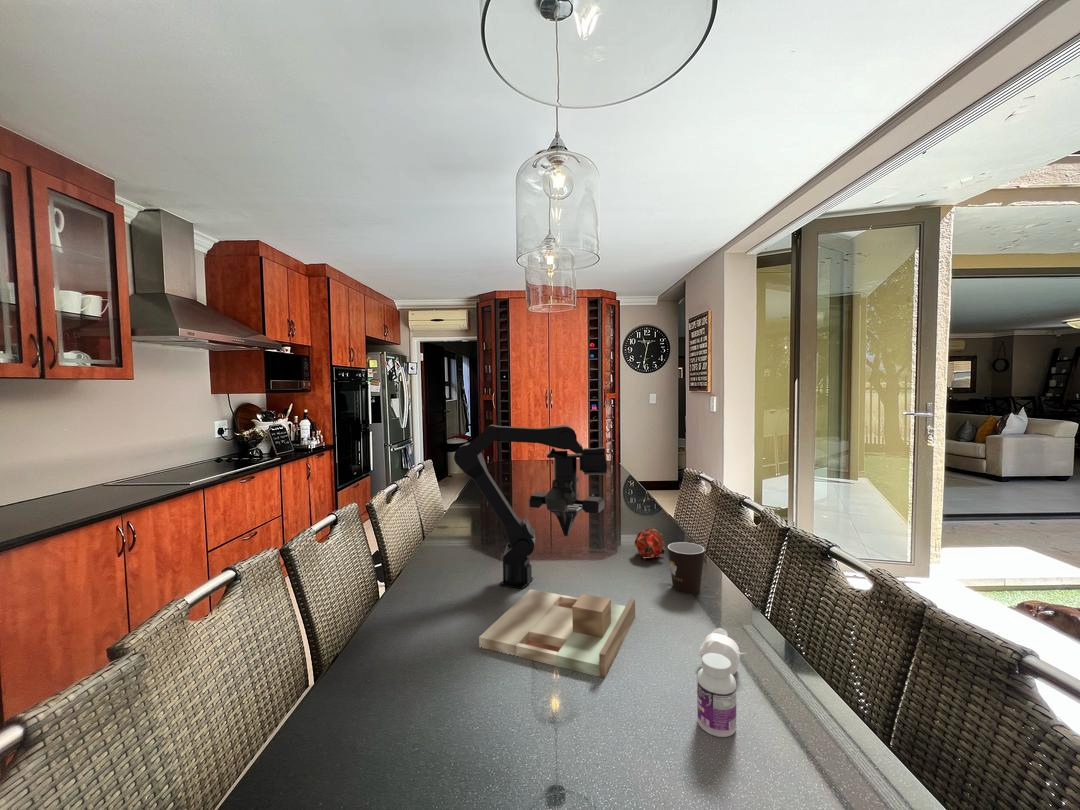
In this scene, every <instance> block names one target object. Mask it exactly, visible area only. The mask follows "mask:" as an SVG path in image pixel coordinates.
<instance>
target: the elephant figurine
mask: <svg viewBox="0 0 1080 810" xmlns="http://www.w3.org/2000/svg"><path fill="white" fill-rule="evenodd" d="M698 650H699V652H698V653H699V654H698V656H699V657H700V658H701V659H702V657H703V655H705V654H708V653H716V654H720V655H723V656H725V657H726V658H728V659H729V660H730V662H731V674H732V675H733V676H734V675H735V674H736V672H737V670H738V668H739V664H740V657H741V656H742V655H744V654H747V651H746V652H740V648H739V646H738V644H737V643H736V641H735V640H734V639H733V638H731V637H729V635H728V632H727V630H726V629H725V628H724V629H723V628H721V627H718V628H715V629H714V630H713V631H712V632H710V633H709V634H708V635H706V637H705V639H704V641H703V643H702V644H701V645H700V647H699V649H698Z"/></svg>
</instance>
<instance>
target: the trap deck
mask: <svg viewBox="0 0 1080 810" xmlns="http://www.w3.org/2000/svg"><path fill="white" fill-rule="evenodd" d="M579 598H580V597H576V596H571V595H565V594H564V595H563V594H558V593H553V592H547V591H541V590H535V589H529V590H528V591H526V593H525V594H524V595H522V596H521V597H520V598H519V599H518V600H517V601H516V602H515V603H514V604H512V606H510V607H509V609H507V610H506V611H505V612H504V613H503V614H502V615H501V616H500V617H499V618H498V619H496V621H494V622H493V623H492V624H491V625H490V626H488V628H487V629H486V630H485V631H484V632H483V633H482V634H481V635H479V637H478V647H479V648H481V647H482V648H481V649H486V650H489V649H490V651H493V650H494V651H493V652H497V651H498V653H501V652H502V653H501V654H505V653H506V654H505V655H509V654H511V655H510V656H513V655H515V656H514V657H517V656H519V657H518V658H522V659H525V660H530V661H533V662H534V661H535V662H538V663H542V664H547V665H551V666H555V667H559V668H562V669H563V668H564V669H567V670H570V671H575V672H580V673H583V674H587V675H591V676H595V677H599V678H603V679H606V677H607V675H608V674H609V671H610V669H611V667H612V665H613V663H614V661H615V659H616V657H617V655H618V653H619V651H620V649H621V647H622V645H623V643H624V641H625V639H626V636H627V634H628V633H629V631H630V628H631V626H632V625H633V623H634V621H635V618H636V598H633V597H630V598H629V600H628V601H627V603H626V606H625V605H622V604H615V603H611V624H610V626H609V628H608V629H607V631H606V633H605V635H604V636H603V638H600V637H595V636H590V635H586V634H581V633H576V632H573V619H572V606H573V605H574V604H575V603H576V601H577V600H578V599H579Z"/></svg>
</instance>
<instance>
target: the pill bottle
mask: <svg viewBox="0 0 1080 810" xmlns="http://www.w3.org/2000/svg"><path fill="white" fill-rule="evenodd" d="M696 687H697V688H696V689H697V690H696V691H697V692H696V695H697V696H696V698H697V699H696V703H697V705H696V706H697V707H696V708H697V722H698V725H699V726H700V728H702V730H703V731H704V732H706V733H707V734H709V735H712V736H714V737H720V738H726V737H731V736H732V735H733V734H735V732H736V730H737V681H736V678H735V676H734V675H732V674H731V662H730V660H729V659H728V658H726V657H725V656H723V655H720V654H716V653H708V654H705V655H703V657H702V658H701V668H700V669H699V670H698V672H697V675H696Z"/></svg>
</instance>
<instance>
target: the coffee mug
mask: <svg viewBox="0 0 1080 810" xmlns="http://www.w3.org/2000/svg"><path fill="white" fill-rule="evenodd" d="M667 552H668V560H669V567H670V575H671V582H672V583H671V584H672V588H673V590H674V591H676V592H678V593H681V594H685V595H687V594H688V595H693V594H692V593H695V594H698V593H699V592H701V586H702V576H703V567H704V558H705V547H704V546H702V545H699V544H697V543H693V542H685V541H682V542H681V541H679V542H672V543H669V544H668V545H667ZM697 592H698V593H697Z"/></svg>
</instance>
